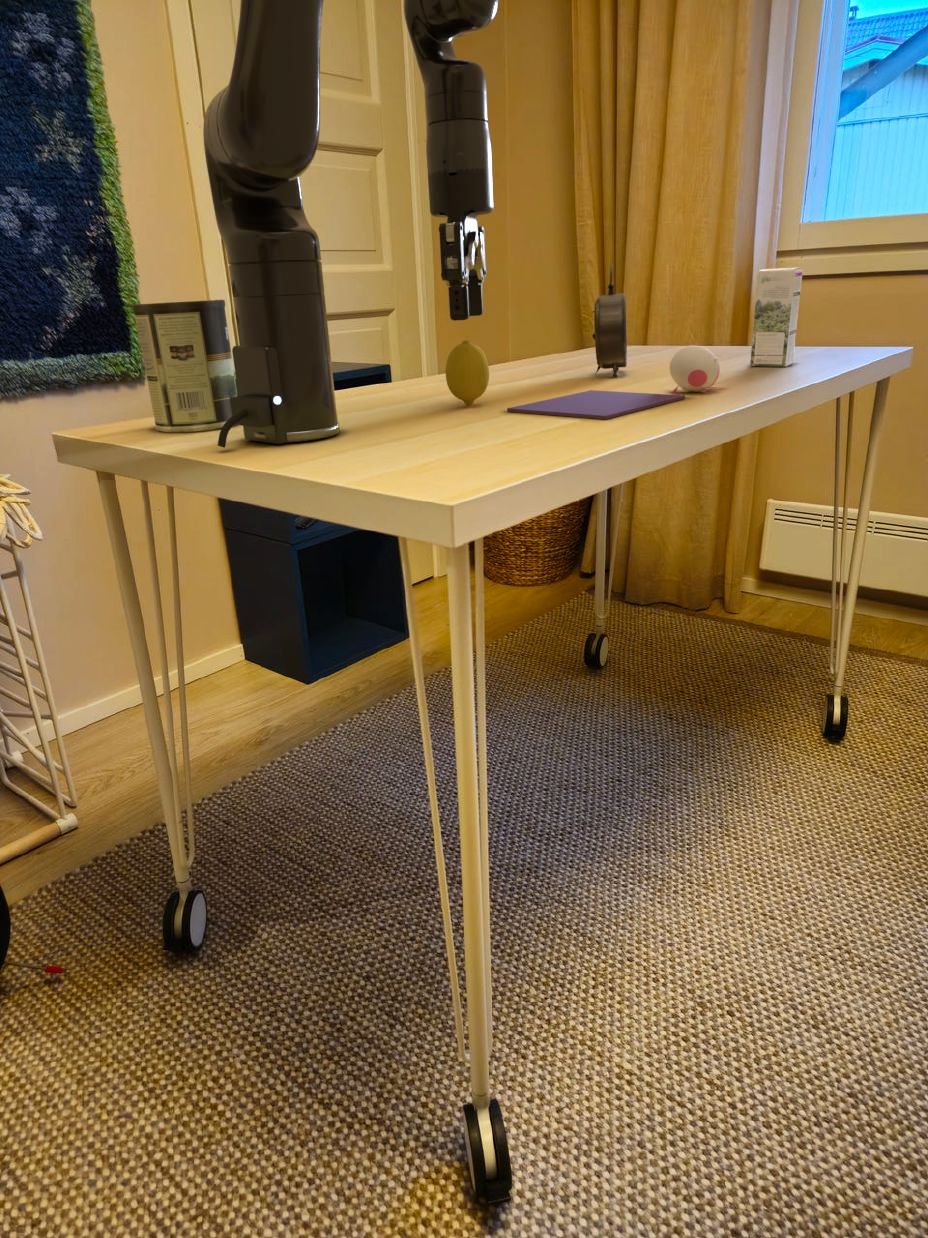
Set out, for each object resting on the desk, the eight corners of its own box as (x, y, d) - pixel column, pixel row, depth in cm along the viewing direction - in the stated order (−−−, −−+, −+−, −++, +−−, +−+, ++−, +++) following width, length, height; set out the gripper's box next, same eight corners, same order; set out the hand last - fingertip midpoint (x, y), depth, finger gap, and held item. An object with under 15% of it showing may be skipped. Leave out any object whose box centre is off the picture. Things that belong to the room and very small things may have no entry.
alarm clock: (625, 378, 126) (628, 262, 120) (589, 379, 127) (591, 264, 121) (627, 370, 136) (630, 263, 130) (594, 371, 137) (595, 265, 131)
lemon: (463, 401, 110) (461, 338, 107) (498, 403, 107) (496, 338, 104) (438, 407, 106) (434, 341, 103) (473, 409, 102) (471, 341, 99)
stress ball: (717, 419, 107) (748, 373, 106) (672, 386, 104) (703, 339, 103) (691, 409, 114) (720, 366, 112) (648, 378, 111) (677, 333, 109)
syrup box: (794, 363, 135) (804, 266, 129) (785, 367, 130) (795, 267, 125) (758, 363, 138) (766, 268, 132) (748, 366, 133) (756, 269, 128)
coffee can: (222, 416, 107) (205, 299, 102) (256, 424, 99) (238, 298, 94) (142, 426, 101) (119, 304, 96) (171, 435, 94) (148, 303, 88)
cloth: (605, 419, 91) (605, 415, 91) (507, 411, 100) (507, 408, 99) (685, 398, 103) (685, 395, 103) (591, 393, 112) (591, 390, 112)
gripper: (442, 178, 103) (451, 316, 109) (412, 165, 90) (423, 323, 96) (502, 172, 101) (507, 313, 108) (479, 159, 89) (486, 319, 95)
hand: (467, 317), depth 102 cm, fingers open, 8 cm apart
